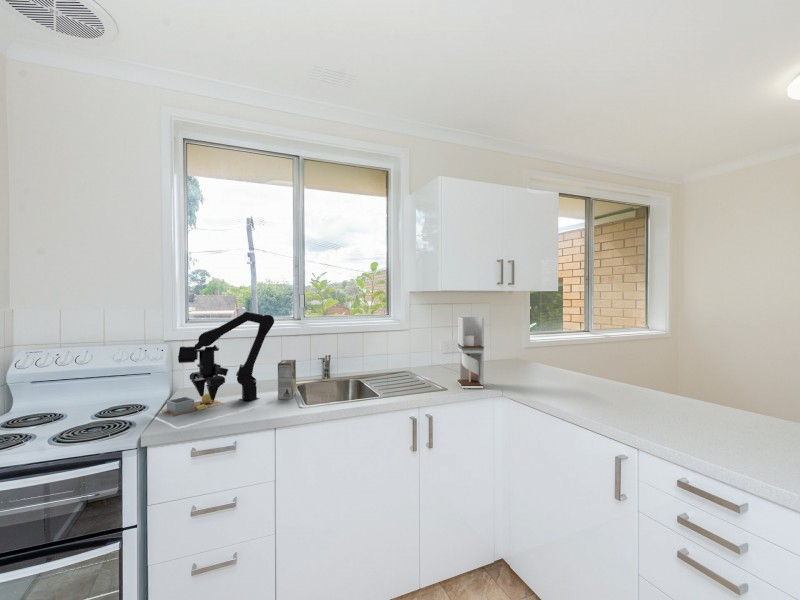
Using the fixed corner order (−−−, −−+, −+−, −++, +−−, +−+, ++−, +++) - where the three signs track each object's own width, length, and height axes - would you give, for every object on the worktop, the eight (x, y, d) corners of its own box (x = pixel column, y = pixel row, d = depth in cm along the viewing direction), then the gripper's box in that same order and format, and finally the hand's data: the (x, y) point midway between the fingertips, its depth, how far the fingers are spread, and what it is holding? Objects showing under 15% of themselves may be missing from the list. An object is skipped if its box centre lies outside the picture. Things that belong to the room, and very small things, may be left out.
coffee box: (282, 393, 175) (282, 359, 175) (296, 393, 176) (296, 359, 175) (277, 399, 166) (277, 363, 166) (292, 398, 166) (292, 363, 166)
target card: (207, 407, 151) (207, 405, 151) (198, 410, 149) (198, 408, 148) (203, 406, 154) (203, 404, 154) (194, 408, 151) (194, 406, 151)
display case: (457, 383, 196) (458, 317, 195) (477, 383, 196) (478, 317, 195) (462, 389, 184) (462, 318, 183) (483, 388, 185) (483, 318, 184)
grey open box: (194, 409, 149) (194, 399, 149) (175, 414, 143) (175, 403, 143) (185, 406, 154) (185, 396, 153) (166, 410, 148) (166, 400, 148)
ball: (214, 402, 158) (214, 393, 158) (204, 405, 155) (204, 395, 155) (209, 401, 161) (209, 391, 161) (200, 403, 158) (199, 393, 157)
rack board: (225, 405, 157) (225, 402, 157) (174, 417, 141) (174, 414, 141) (210, 400, 164) (210, 397, 164) (160, 411, 148) (160, 408, 148)
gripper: (237, 361, 159) (237, 397, 159) (214, 356, 170) (214, 390, 170) (211, 365, 150) (211, 403, 150) (188, 360, 161) (189, 396, 161)
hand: (207, 398), depth 158 cm, fingers open, 9 cm apart
